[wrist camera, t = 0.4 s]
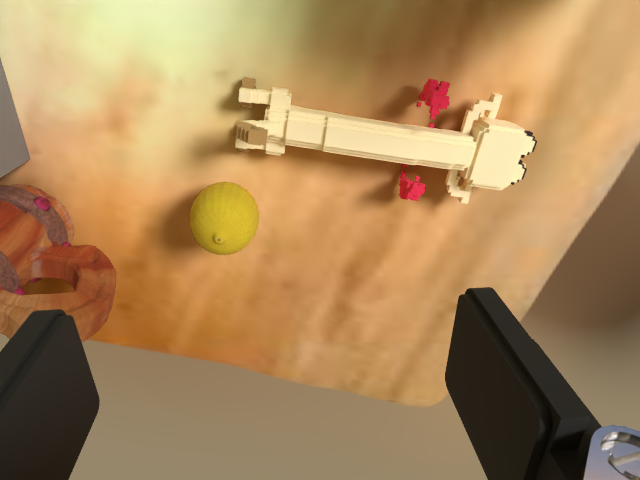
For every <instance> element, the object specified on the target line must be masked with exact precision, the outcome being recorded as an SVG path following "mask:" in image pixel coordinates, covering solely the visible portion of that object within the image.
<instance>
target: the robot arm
mask: <svg viewBox="0 0 640 480" xmlns="http://www.w3.org/2000/svg"><path fill="white" fill-rule="evenodd" d="M445 381H446V386H447V389H448V391H449V394H450V396H451V398H452V400H453V403H454V405H455V407H456V409H457V411H458V414H459V416H460V418H461V420H462V423H463V424H464V427H465V429H466V432H467V434H468V436H469V438H470V440H471V443H472V445H473V447H474V449H475V452H476V454H477V456H478V458H479V460H480V463H481V465H482V467H483V469H484V472H485V474H486V476H487V479H488V480H640V431H637V430H634V429H631V428H628V427H625V426H616V425H610V426H604V427H601V425H600V424H599V423H598V421H597V420H596V419H595V418H594V416H593V415H592V414H591V412H590V411H589V410H588V408H587V407H586V406H585V405H584V404H583V402H582V401H581V399H580V398H579V397H578V396H577V394H576V393H575V392H574V390H573V389H572V388H571V387H570V385H569V384H568V383H567V381H566V380H565V379H564V377H563V376H562V375H561V373H560V372H559V371H558V370H557V368H556V367H555V366H554V364H553V363H552V362H551V361H550V359H549V358H548V357H547V355H546V354H545V353H544V352H543V350H542V349H541V348H540V346H539V345H538V344H537V343H536V342H535V341H534V340H533V339H531V337H530V336H529V335H528V333H527V332H526V331H525V330H524V328H523V327H522V326H521V324H520V323H519V322H518V320H517V319H516V318H515V316H514V315H513V314H512V313H511V311H510V310H509V309H508V307H507V306H506V305H505V303H504V302H503V301H502V300H501V298H500V297H499V296H498V294H497V293H496V292H495V290H494V289H493V288H490V287H487V288H469V289H467V290H466V292H465V294H463V295H460V296H459V299H458V304H457V310H456V315H455V321H454V327H453V332H452V338H451V344H450V349H449V355H448V361H447V367H446V372H445ZM98 409H99V396H98V392H97V389H96V386H95V383H94V380H93V377H92V374H91V371H90V367H89V365H88V362H87V358H86V355H85V352H84V349H83V346H82V342H81V339H80V336H79V333H78V330H77V327H76V324H75V321H74V318H73V317H72V316H71V315H66V313H65V312H64V311H63V310H61V309H55V310H36V311H33V312H32V313H31V314H30V315H29V316H28V318H27V319H26V320H25V321H24V323H23V324H22V325H21V326H20V328H19V329H18V330H17V332H16V333H15V334H14V335H13V337H12V338H11V339H10V340H9V342H8V343H7V344H6V345H5V347H4V348H3V349H2V351H1V352H0V480H68V479H69V477H70V475H71V472H72V470H73V468H74V465H75V463H76V461H77V459H78V456H79V454H80V452H81V449H82V447H83V445H84V443H85V440H86V438H87V436H88V433H89V431H90V429H91V427H92V424H93V422H94V419H95V417H96V415H97V413H98Z"/></svg>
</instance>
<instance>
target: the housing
mask: <svg viewBox="0 0 640 480" xmlns="http://www.w3.org/2000/svg"><path fill="white" fill-rule="evenodd" d="M28 160H30V156H29V153H28V149H27V146H26V143H25V139H24V136H23V133H22V129H21V126H20V123H19V119H18V116H17V112H16V109H15V106H14V102H13V99H12V96H11V92H10V89H9V86H8V82H7V79H6V76H5V72H4V69H3V65H2V62H1V59H0V178H1V177H2V176H4V175H6V174H7V173H9V172H10V171H12V170H14V169H15V168H17V167H19V166H20V165H22V164H23V163H25V162H27V161H28Z"/></svg>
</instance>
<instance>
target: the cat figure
mask: <svg viewBox="0 0 640 480" xmlns="http://www.w3.org/2000/svg"><path fill="white" fill-rule="evenodd" d="M449 84H450V83H448V82H443V81H440V84H438V81H437V80H433V79H428V82H426V85H424V87H423V91H422V92H421V95H420V96H419V99H420V100H421V101H425V100H426V102H425V104H426V105H427V106H430V111H429V113H430V114H431V115H430V119H435V116H436V115H439V112H440V111H439V108H440V109H446V108H447V106H448V105H449V97H448V96H445V95H447V92H448V88H449ZM255 87H256V86H255V79H252V78H246V77H244V78H243V79H242V87H241V88H240V89H239V102H241V104H240V106H241V107H247V108H252V107H253V103H257V104H259V103H262V104H268V106H267V108H266V111H265V118H264V120H263V121H261V120H259V121H255V120H250V121H249V120H246V121H243V120H241V121H236V122H235V123H234V136H236V145H235V148H237V151H243V152H248V151H249V149H255V148H257V149H263V150H266V154H273V155H279V156H280V155H281V153H283V154H284V152H285V148H286V145H290V146H297V147H304V148H310V149H317V150H323V152H330V153H337V154H343V155H350V156H357V157H363V158H370V159H377V160H383V161H390V162H397V163H403V164H402V167H406V164H410V165H416V164H417V165H423V166H430V167H437V168H443V169H449V171H448V174H447V178H446V181H445V183H446V185H448V186H447V189H446V190H447V191H448V192H449V194H450V196H456V197H458V200H459V201H460V202H461V203H466V204H467V203H468V200H469V197H470V194H471V191H472V188H473V186H474V187H481V188H488V189H495V190H501V189H502V190H503V189H504V187H505V188H506V187H508V185H510V184H512V185H514V183H515V182H519V180H521V179H523V178H524V175H525V172H526V170H527V169H526V168H525V166H526V164H523V163H522V161H521V160H520V157H522V158H524V156H525V155H529V152H533V151H534V149H535V146H536V143H537V141H536V140H534V139H535V137H534V136H532V134H533V133H532V132H530V131H525V130H524V129H523V128H521V127H519V126H517V125H516V124H514V123H512V122H508V121H504V120H498V119H493V118H496V115H497V112H498V109H499V105H500V102H501V99H502V95H500V94H496V93H491V96H490V99H489V100H488V101H484V100H478V99H477V102H476V103H472V106H471V109H470V110H466V113H465V117H464V120H463V124H462V127H461V130H460V132H459V131H453V130H447V129H436V128H434V123H429V127H423V126H417V125H410V124H408V125H406V124H399V123H393V122H387V121H380V120H374V119H367V118H361V117H355V116H348V115H342V114H339V113H334V112H327V111H321V110H315V109H308V108H302V107H300V106H294V105H291V98H292V93H289V92H288V91H289V89H286V88H279V87H273V89H272V90H263V89H255ZM269 105H270V106H269ZM417 106H420V107H421V103H420V102H418V103H417ZM484 110H486V112H485V116H486V117H488V118H485V117H483V116H484ZM458 172H459V174H460V176H458V175H457V173H458ZM405 177H406V173H405V171H403V170H401V177H400V178H401V180H400V184H399V185H400V194H399V195H400V197H401V199H409V198H410V199H411V200H415V201H418V198H419V196H420V195H423V193H424V192H425V189H424V188H425V184H421V182H414V181H410V180H409V179H405ZM461 177H463V179H464V182H463V185H461V187H460V186H459V185H458V181H459V180H460V178H461ZM419 180H420V177H419V176H416V177H415V181H419Z"/></svg>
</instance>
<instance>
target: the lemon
mask: <svg viewBox="0 0 640 480" xmlns="http://www.w3.org/2000/svg"><path fill="white" fill-rule="evenodd" d="M258 222H259V213H258V208H257V204H256V202H255V200H254V198H253V197H252V195H251V194H250V193H249V192H248V191H247V190H246V189H244V188H243V187H241V186H239V185H237V184H234V183H229V182H221V183H216V184H213V185H210V186H208V187H207V188H205V189H204V190H203V191H201V193H200V194H199V195H198V196H197V197H196V199H195V201H194V203H193V205H192V207H191V212H190V226H191V231H192V234H193V236H194V238H195V240H196V241H197V242H198V244H199V245H200V246H201V247H202V248H204V249H205V250H207V251H209V252H211V253H214V254H218V255H229V254H234V253H236V252H238V251H240V250H242V249H243V248H244V247H246V246H247V245H248V244H249V242H250V241H251V240H252V238H253V237H254V235H255V233H256V230H257V227H258Z"/></svg>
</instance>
